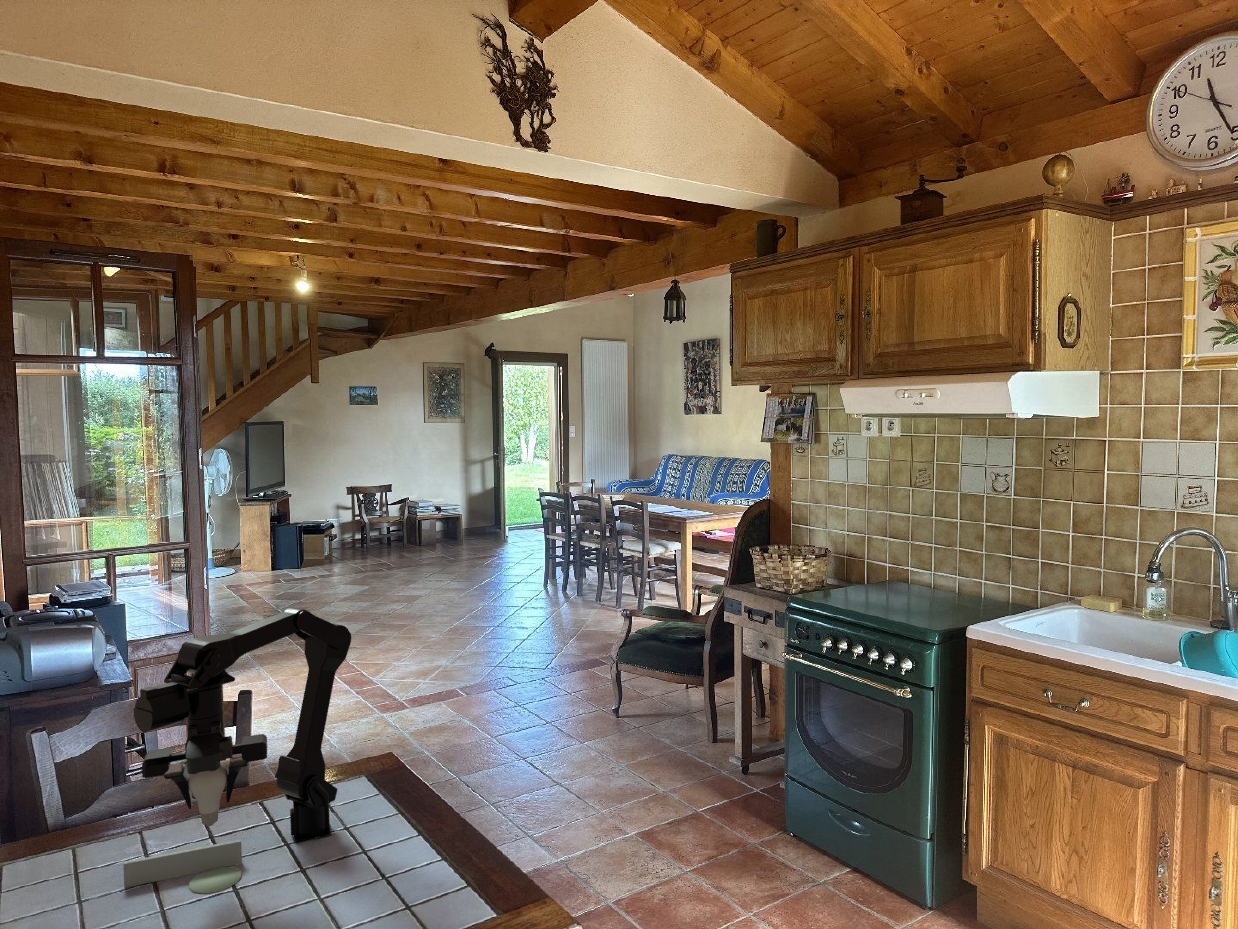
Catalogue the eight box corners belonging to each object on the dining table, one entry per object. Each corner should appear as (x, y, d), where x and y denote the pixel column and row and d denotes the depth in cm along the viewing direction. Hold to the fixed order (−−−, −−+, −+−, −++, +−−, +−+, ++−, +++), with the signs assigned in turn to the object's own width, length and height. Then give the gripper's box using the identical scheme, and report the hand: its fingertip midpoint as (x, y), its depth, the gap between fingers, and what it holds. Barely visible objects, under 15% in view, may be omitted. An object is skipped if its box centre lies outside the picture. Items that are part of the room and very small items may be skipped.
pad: (241, 864, 148) (241, 863, 148) (240, 886, 140) (240, 884, 140) (190, 875, 144) (190, 873, 144) (187, 898, 137) (187, 896, 137)
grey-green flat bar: (242, 861, 149) (241, 839, 148) (241, 863, 148) (241, 841, 148) (125, 885, 141) (124, 862, 141) (124, 887, 141) (123, 864, 141)
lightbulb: (213, 835, 139) (210, 769, 138) (181, 832, 140) (178, 767, 140) (237, 819, 145) (235, 755, 144) (207, 816, 146) (204, 753, 146)
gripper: (134, 738, 131) (139, 837, 131) (264, 720, 138) (268, 813, 138) (145, 716, 141) (149, 808, 142) (265, 700, 148) (269, 788, 149)
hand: (209, 805), depth 142 cm, fingers closed on lightbulb, 5 cm apart
